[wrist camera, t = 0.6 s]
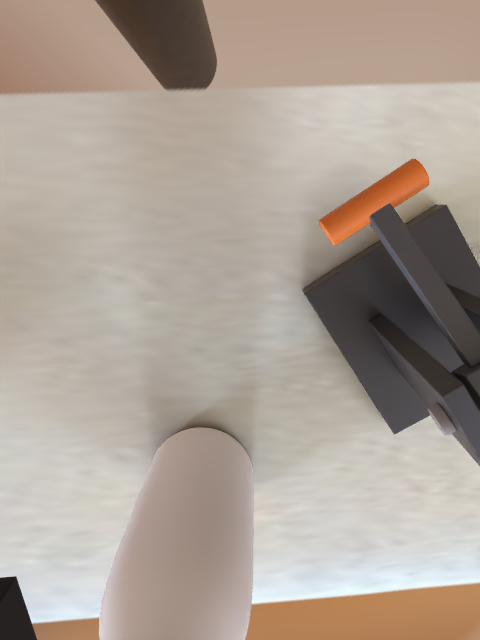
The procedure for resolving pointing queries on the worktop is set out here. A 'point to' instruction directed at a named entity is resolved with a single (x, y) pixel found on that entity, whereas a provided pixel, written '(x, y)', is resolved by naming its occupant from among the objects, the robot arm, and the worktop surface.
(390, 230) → the switch lever
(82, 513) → the worktop surface
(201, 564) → the milk bottle
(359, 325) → the switch base
